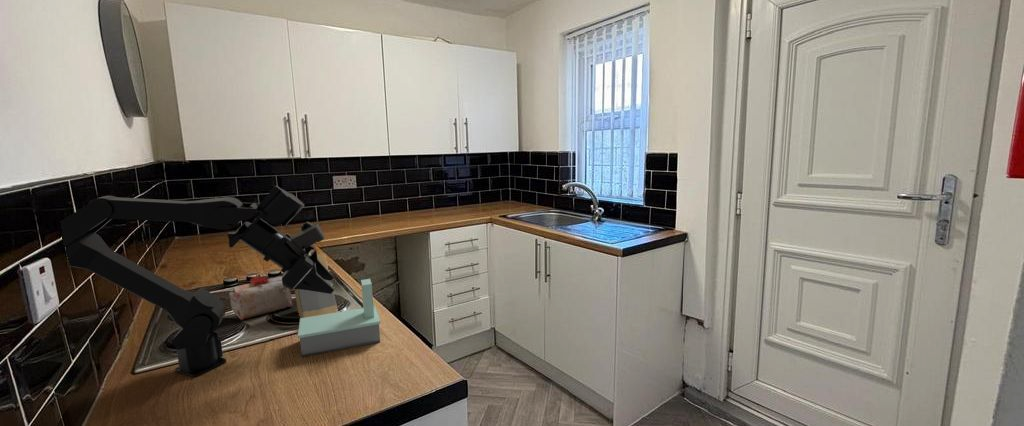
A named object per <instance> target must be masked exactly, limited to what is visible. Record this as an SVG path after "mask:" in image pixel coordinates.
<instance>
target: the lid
mask: <svg viewBox="0 0 1024 426" xmlns="http://www.w3.org/2000/svg"><path fill="white" fill-rule="evenodd" d="M360 283H361V295H362V296H361V297H362V307H361V308H355V309H350V310H349V309H348V310H343V311H338V312H336V313H330V314H324V315H317V316H311V317H305V318H299V325H298V332H297V339H300V338H303V337H309V336H314V335H320V334H326V333H331V332H337V331H342V330H348V329H354V328H359V327H365V326H371V325H376V324H379V325H380V324H381V319H380V316H379V313H378V310H377V309H378V308H377V306H376V305H374V297H373V284H372V280H371V278H366V279H361V280H360Z"/></svg>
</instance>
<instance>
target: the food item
mask: <svg viewBox="0 0 1024 426" xmlns="http://www.w3.org/2000/svg"><path fill="white" fill-rule="evenodd" d="M282 277H283V275H282V276H277V277H271V278H268V277H266V276H264V275H263V276H260V275H259V274H256V275H255V276H253V277H252V278H251V279H250V282H249V283H245V284H240V285H236V286H234V287H233V289H232V291H230V292H229V293H228V296H229V298H230V306H231V309H232V312H233V314H234V315H236V316H237V317H238V318H239V319H240V320H241V321H244V320H247V319H250V318H251V319H252V318H254V317H257V316H261V315H266V314H268V313H273V312H276V310H278V311H280V310H279V309H282V310H284V309H283V308H285V309H287V308H286V307H290V306H293V307H294V304H293V298H292V292H291V290H290V289H288V288H287V287H285V286H284V285H283V284H282ZM290 308H291V307H290Z"/></svg>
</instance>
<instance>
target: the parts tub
mask: <svg viewBox="0 0 1024 426" xmlns="http://www.w3.org/2000/svg"><path fill="white" fill-rule="evenodd" d="M380 335H381V333H380V324H376V325H371V326H365V327H359V328H354V329H348V330H342V331H337V332H331V333H326V334H320V335H314V336H309V337H303V338H299V343H300V344H299V345H300V351H301V357H302V358H304V357H311V356H316V355H320V354H321V355H322V354H326V353H331V352H337V351H341V350H347V349H351V348H352V349H353V348H358V347H361V346H367V345H372V344H377V343H381V336H380Z"/></svg>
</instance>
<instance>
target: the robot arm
mask: <svg viewBox="0 0 1024 426" xmlns="http://www.w3.org/2000/svg"><path fill="white" fill-rule="evenodd" d="M304 207H305V203H304V202H302V200H300V199H299V198H298V197H297V196H295V195H294V194H293V193H290V192H288V191H286V190H285V189H283V188H281V187H279V185H275V186H273V187H272V189H270V190H269V193H268V194H267V195H266V196H265V197H264V198H263V199H262V201H260V202H259V203H258V202H242V201H241V200H240V199H238V198H236V197H233V196H231V197H230V196H226V197H216V198H215V197H214V198H206V199H199V200H198V199H197V200H175V199H174V200H172V199H154V198H138V197H137V198H136V197H118V196H115V195H105V196H101V197H96V198H94V199H91V200H90V201H89V202H88V203H87V204H85V205H84V206H83V207H82V208H79V209H78V210H76V211H75V212H73V213H71V214H70V215H68V216H66V217H65V218H63V219H61V220H59V222H60V223H61V229H62V239H63V243H64V247H66V254H67V257H68V260H69V263H70V266H69V267H70V268H71V267H72V268H77V269H83V270H85V271H86V270H87V271H89V272H92V273H93V274H95V275H96V276H99V277H100V278H102V279H105V280H107V281H108V282H110V283H112V284H114V285H116V286H118V287H120V288H121V289H124V290H126V291H127V292H130V293H131V294H133V295H135V296H137V297H139V298H141V299H143V300H145V301H147V302H149V303H150V304H152V305H155V307H158V308H160V309H162V310H164V311H165V312H166V313H167V314H168V316H170V318H171V319H172V321H174V323H175V324H176V325H177V326H179V327H180V329H179V330H178V332H177V333H176V334H175V335H174V336H173V338H172V340H171V343H172V346H173V347H174V348H175V349H176V356H177V359H178V360H177V361H178V367H175V368H174V372H175V373H180V374H184V375H186V376H188V377H193V378H195V377H199V376H201V375H203V374H204V373H207V372H208V371H211V370H213V369H215V368H217V367H218V366H220V365H223V364H225V363H227V358H225V357H223V356H224V354H223V347H222V340H221V339H222V338H220V337H219V334H218V332H215V331H217V329H218V327H219V325H220V324H221V322H222V321H223V319H224V317H225V315H226V304H225V303H224V302H223V301H222V300H221V299H220V298H221V295H216V294H213V293H211V292H210V291H208V290H207V289H206V288H204V287H202V286H201V287H199V289H198V290H197V291H192V290H191V291H189V290H186V289H183V288H182V287H179V286H177V285H176V284H174V283H173V282H170V281H168V280H166V279H165V278H163V277H161V276H159V275H158V274H155V273H154V272H153V271H150V270H148V269H147V268H145V267H143V266H141V265H140V264H137V263H136V262H134V261H132V260H131V259H128V258H127V257H126V256H123V255H122V254H119V253H118V252H116V251H114V250H113V249H111V248H110V247H109V245H108V244H107V243H106V242H105V240H103V238H102V237H101V236H100V235H99V234H98V233H97V232H98V231H99V230H101V229H102V228H103V227H104V226H106V225H107V224H108V223H109V222H110V221H112V220H123V221H125V220H126V221H127V220H128V221H148V222H149V221H153V222H174V223H175V222H177V223H178V222H180V223H182V222H184V223H189V224H194V225H197V226H200V227H203V228H210V229H215V230H221V231H226V230H227V231H228V230H231V229H233V228H235V227H237V225H239V224H240V223H241V222H243V221H244V222H243V223H242V224H241V225H240V226H239V228H237V230H235V231H229V232H228V233H227V235H226V236H227V239H228V248H234V246H235V245H236V244H238V242H240V241H241V243H243V244H244V245H246V246H248V247H249V248H251V249H252V250H253V251H255V252H257V253H259V254H260V255H261V256H262V257H263V258H262V260H264V261H265V262H267V263H268V262H269V261H270V262H271V263H273V264H274V265H276V266H278V267H280V268H281V269H280V272H282V273H283V274H282V276H283V277H282V284H283V285H284V286H285V287H287V288H288V289H290V291H292V290H294V291H295V290H296V289H301V290H309V291H316V292H322V293H328V294H331V293H332V292H335V289H334V288H333V286H332V287H331V286H330V285H329V284H328V283H327V282H326V281H325V280H329V281H331V282H332V280H333V279H334V276H333V275H332V273H331V272H330V271H328V270H329V269H328V270H327V269H326V268H325V267H324V265H323V264H322V263H321V262H320V261H319V260H318V258H317V255H318V249H317V248H316V245H315V244H316V243H320V242H322V241H324V240H325V236H326V235H325V233H324V232H323V230H322V229H321V227H320V225H319V224H318V223H316V222H315V223H314V224H313V223H311V222H309V221H306V222H304V223H302V224H301V230H300V231H298V232H297V233H295V234H294V235H291V234H290V233H288V232H287V233H286V232H285V233H282V232H281V231H279V230H278V229H277V228H275V227H278V228H279V227H280V226H284V227H285V226H287V225H288V224H289V223H290V222H291V221H292V219H294V218H295V217H296V216H297V215H298V213H299V212H300V211H301V210H302V209H303V208H304ZM257 213H259V215H258V216H257V217H256V218H255V219H254V220H253V221H252V222H249V221H246V220H251V219H252V218H253V217H254V216H255V214H257ZM263 219H264V220H263ZM269 223H270V224H269ZM311 251H312V252H311ZM324 279H325V280H324Z"/></svg>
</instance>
